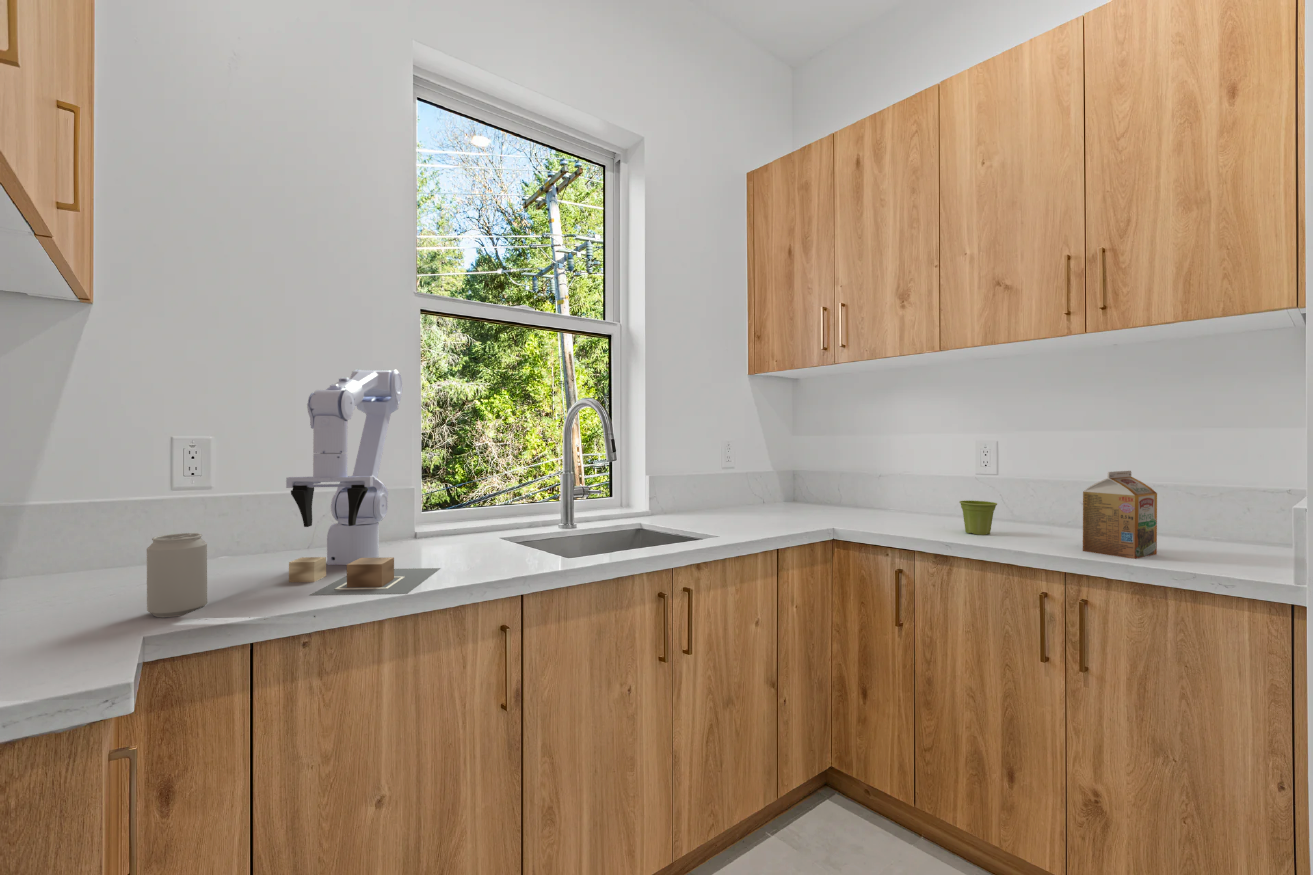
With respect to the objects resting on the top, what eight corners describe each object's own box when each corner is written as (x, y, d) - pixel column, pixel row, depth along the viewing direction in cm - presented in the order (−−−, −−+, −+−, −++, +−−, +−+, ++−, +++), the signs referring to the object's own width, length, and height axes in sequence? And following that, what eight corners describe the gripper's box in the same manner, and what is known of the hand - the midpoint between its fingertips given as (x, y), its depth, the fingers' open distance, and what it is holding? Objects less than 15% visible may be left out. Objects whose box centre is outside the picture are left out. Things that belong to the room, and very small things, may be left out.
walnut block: (346, 587, 110) (346, 564, 110) (360, 579, 116) (360, 557, 116) (381, 586, 111) (381, 564, 110) (394, 578, 117) (394, 557, 116)
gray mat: (309, 599, 105) (309, 594, 105) (359, 573, 125) (359, 568, 125) (407, 598, 106) (407, 592, 106) (440, 572, 126) (440, 567, 126)
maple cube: (289, 586, 114) (288, 562, 114) (301, 581, 119) (301, 557, 119) (314, 586, 114) (314, 561, 114) (326, 580, 119) (326, 557, 119)
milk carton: (1134, 558, 139) (1135, 473, 139) (1082, 551, 148) (1083, 470, 148) (1156, 554, 145) (1157, 471, 144) (1105, 547, 154) (1105, 469, 154)
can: (156, 608, 100) (155, 533, 100) (212, 603, 103) (212, 530, 103) (139, 621, 93) (138, 540, 93) (200, 615, 96) (200, 537, 96)
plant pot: (990, 531, 178) (990, 500, 178) (1002, 536, 169) (1002, 504, 169) (955, 530, 180) (955, 500, 180) (964, 535, 171) (964, 503, 171)
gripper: (279, 453, 113) (279, 529, 113) (366, 453, 116) (365, 527, 115) (294, 453, 120) (294, 524, 120) (375, 453, 123) (375, 522, 122)
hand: (330, 525), depth 118 cm, fingers open, 7 cm apart
